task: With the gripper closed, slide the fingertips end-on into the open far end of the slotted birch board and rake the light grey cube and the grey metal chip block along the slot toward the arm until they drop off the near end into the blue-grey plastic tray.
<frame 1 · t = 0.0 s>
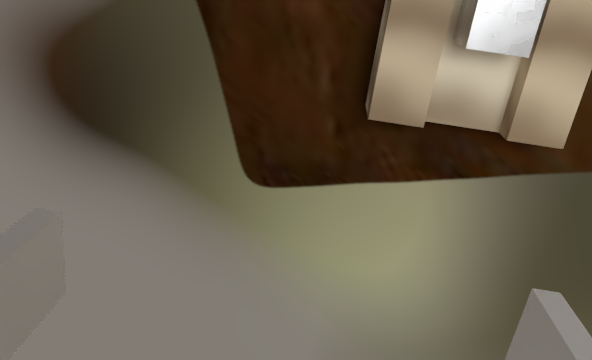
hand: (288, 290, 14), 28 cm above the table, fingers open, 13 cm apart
light grey cube: (488, 15, 35), point 2 cm above the table, touching slot board
slot board: (479, 13, 37), on the table
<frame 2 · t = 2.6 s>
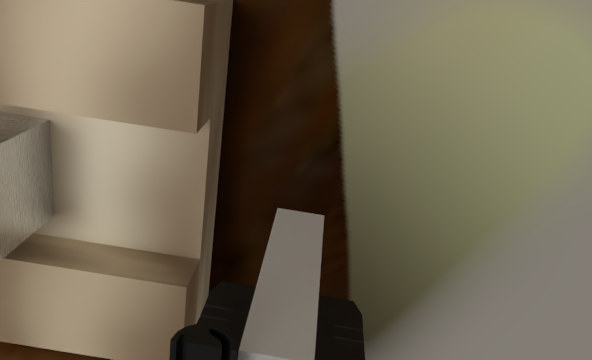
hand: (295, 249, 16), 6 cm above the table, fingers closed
light grey cube: (1, 161, 19), point 2 cm above the table, touching slot board
slot board: (37, 141, 22), on the table
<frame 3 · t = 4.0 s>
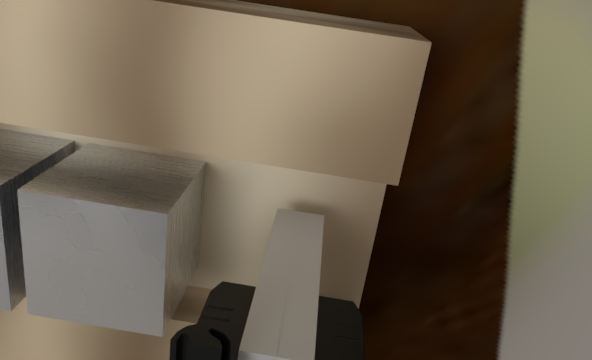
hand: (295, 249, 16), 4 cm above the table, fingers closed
light grey cube: (146, 205, 17), point 2 cm above the table, touching slot board
slot board: (169, 179, 20), on the table
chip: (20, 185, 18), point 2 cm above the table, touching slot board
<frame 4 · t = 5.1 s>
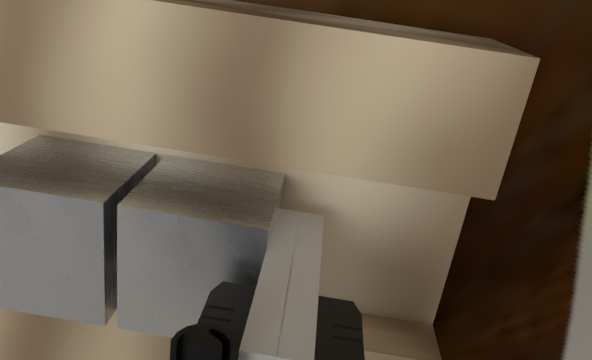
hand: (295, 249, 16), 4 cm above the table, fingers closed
light grey cube: (221, 217, 17), point 3 cm above the table, touching gripper
slot board: (238, 189, 20), on the table
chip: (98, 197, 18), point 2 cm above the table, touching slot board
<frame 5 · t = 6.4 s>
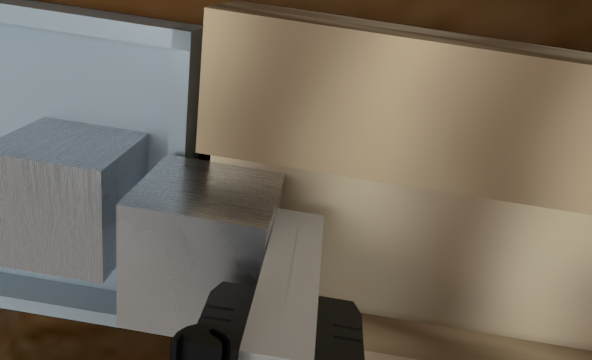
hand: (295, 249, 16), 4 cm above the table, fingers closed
light grey cube: (221, 217, 17), point 2 cm above the table, touching gripper, slot board
slot board: (423, 218, 19), on the table
tray: (73, 163, 20), on the table
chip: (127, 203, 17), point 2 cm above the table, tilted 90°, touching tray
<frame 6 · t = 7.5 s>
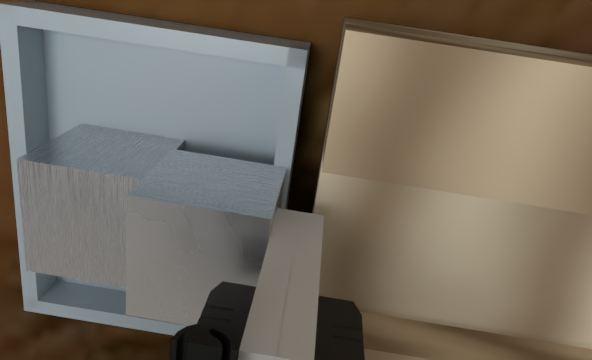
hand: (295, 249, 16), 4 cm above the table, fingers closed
light grey cube: (224, 209, 18), point 2 cm above the table, touching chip, gripper, tray
slot board: (515, 233, 20), on the table
tray: (164, 177, 20), on the table
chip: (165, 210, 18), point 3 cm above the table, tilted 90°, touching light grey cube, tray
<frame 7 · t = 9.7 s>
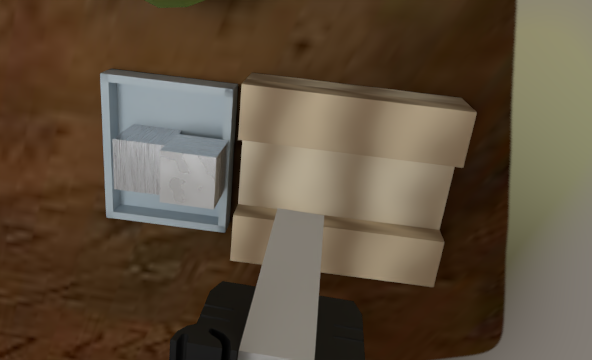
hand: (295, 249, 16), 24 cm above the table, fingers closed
light grey cube: (202, 161, 39), point 2 cm above the table, touching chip, tray
slot board: (343, 170, 41), on the table
tray: (173, 149, 41), on the table
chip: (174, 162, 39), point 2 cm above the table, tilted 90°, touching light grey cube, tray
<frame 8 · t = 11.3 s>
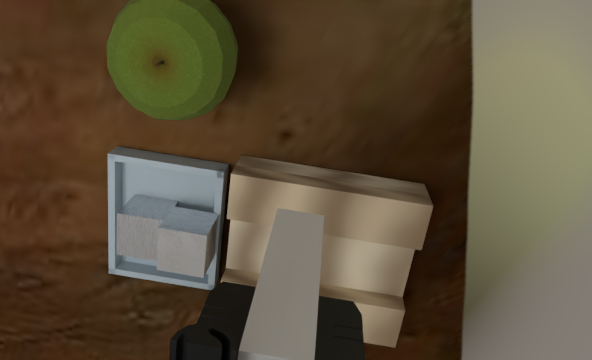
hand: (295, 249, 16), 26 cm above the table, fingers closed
light grey cube: (195, 230, 44), point 2 cm above the table, touching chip, tray
slot board: (319, 239, 46), on the table
tray: (170, 215, 46), on the table
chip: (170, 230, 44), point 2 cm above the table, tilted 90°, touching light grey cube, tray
apple: (203, 42, 40), on the table
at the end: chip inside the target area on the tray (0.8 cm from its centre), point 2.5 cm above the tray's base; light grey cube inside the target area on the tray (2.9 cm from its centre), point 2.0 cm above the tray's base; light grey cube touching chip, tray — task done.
